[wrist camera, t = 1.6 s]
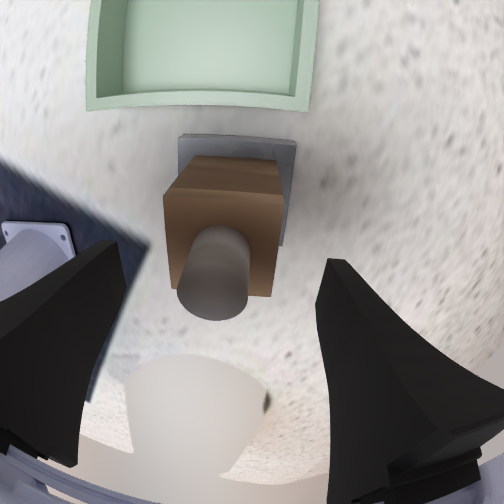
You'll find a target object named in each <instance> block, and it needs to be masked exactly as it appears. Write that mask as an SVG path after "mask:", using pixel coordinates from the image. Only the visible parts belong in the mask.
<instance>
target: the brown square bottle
mask: <svg viewBox="0 0 504 504" xmlns="http://www.w3.org/2000/svg"><path fill="white" fill-rule="evenodd" d="M163 205H164V219H165V231H166V242H167V253H168V262H169V271H170V280H171V288H172V289H177V295H178V298H179V301H180V302H181V304H182V305H183V307H184V308H185V309H186V310H188V311H189V312H190V313H192V314H193V315H195V316H197V317H200V318H203V319H206V320H213V321H221V320H227V319H230V318H233V317H235V316H237V315H238V314H240V313H241V312H242V311H243V309H244V308H245V306H246V304H247V300H248V296H261V297H271V293H272V287H273V280H274V273H275V267H276V260H277V253H278V246H279V239H280V232H281V225H282V218H283V210H284V199H283V193H282V188H281V182H280V176H279V170H278V165H277V161H276V160H265V159H253V158H239V157H223V156H200V155H195V156H194V157H193V158H192V160H191V161H190V162H189V163H188V164H187V166H186V167H185V168H184V169H183V171H182V172H181V173H180V175H179V176H178V177H177V178H176V180H175V181H174V182H173V184H172V185H171V186H170V188H169V189H168V190H167V191H166V193H165V194H164V195H163Z"/></svg>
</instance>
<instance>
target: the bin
mask: <svg viewBox="0 0 504 504" xmlns="http://www.w3.org/2000/svg"><path fill="white" fill-rule="evenodd" d="M318 8H319V0H91V4H90V12H89V21H88V33H87V49H86V112H89V111H97V110H105V109H115V108H126V107H139V106H157V105H229V106H247V107H261V108H272V109H282V110H291V111H299V112H307V113H308V108H309V100H310V91H311V82H312V73H313V63H314V53H315V43H316V32H317V20H318Z"/></svg>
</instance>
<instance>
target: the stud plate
mask: <svg viewBox="0 0 504 504" xmlns="http://www.w3.org/2000/svg"><path fill="white" fill-rule="evenodd" d="M295 152H296V144H295V142H294V141H290V140H281V139H271V138H259V137H246V136H230V135H206V134H183V135H182V136H181V137H179V138H178V175H180V173H181V172H182V171H183V169H184V168H185V167H186V166H187V164H188V163H189V162H190V161H191V160H192V158H193V157H194V156H195V155H200V156H223V157H239V158H253V159H265V160H276V161H277V165H278V170H279V176H280V182H281V188H282V193H283V199H284V210H283V218H282V225H281V232H280V239H279V246H282V245H283V239H284V232H285V225H286V218H287V211H288V204H289V197H290V190H291V183H292V175H293V167H294V160H295Z"/></svg>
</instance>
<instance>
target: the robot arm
mask: <svg viewBox="0 0 504 504" xmlns="http://www.w3.org/2000/svg"><path fill="white" fill-rule="evenodd" d="M2 230H3V233H4V236H5V239H6V242H7V244H6V245H5V246H4V247H3V248H2V249H1V250H0V504H73V503H71V502H69V501H66V500H63V499H61V498H59V497H57V496H54V495H52V494H50V493H49V492H48V490H47V487H46V485H48V486H50V487H52V488H54V489H56V490H58V491H60V492H63V493H65V494H67V495H69V496H71V497H74V498H76V499H78V500H81V501H83V502H86V503H88V504H160V503H155V502H151V501H147V500H143V499H139V498H135V497H131V496H128V495H124V494H121V493H118V492H114V491H112V490H108V489H105V488H102V487H99V486H97V485H94V484H91V483H89V482H86V481H83V480H81V479H78V478H76V477H73V476H71V475H69V474H67V473H64V472H62V471H60V470H57V469H55V468H53V467H51V466H49V465H47V464H45V463H43V462H41V461H39V460H37V457H38V456H39V457H41V458H43V459H45V460H48V458H49V459H51V460H53V461H55V462H57V463H60V464H62V465H64V466H66V467H69V468H71V467H74V466H76V465H77V464H78V443H79V432H80V425H81V418H82V411H83V406H84V402H85V397H86V393H87V388H88V385H89V381H90V377H91V374H92V370H93V367H94V365H95V362H96V359H97V357H98V355H99V352H100V350H101V348H102V346H103V343H104V341H105V339H106V337H107V335H108V333H109V331H110V328H111V326H112V324H113V322H114V320H115V318H116V315H117V313H118V311H119V308H120V305H121V303H122V300H123V296H124V293H125V290H126V282H125V278H124V274H123V269H122V265H121V260H120V255H119V250H118V245H117V241H105V240H102V241H100V242H98V243H96V244H94V245H92V246H91V247H89V248H87V249H86V250H84V251H83V252H81V253H79V254H78V255H75V251H74V247H73V244H72V240H71V236H70V232H69V229H68V227H67V225H65V224H63V223H42V222H19V221H4V222H3V223H2ZM63 235H64V236H65V237H66V238H65V237H64V236H63ZM315 308H316V322H317V331H318V337H319V342H320V347H321V352H322V357H323V362H324V368H325V373H326V378H327V384H328V391H329V404H330V440H331V443H330V470H329V484H328V493H327V504H504V453H502V454H501V455H499V456H497V457H495V458H493V459H491V460H489V461H487V462H485V463H484V464H482V465H480V466H478V463H477V459H479V458H480V457H481V456H482V452H481V449H480V446H482V445H483V444H485V443H486V442H487V441H489V440H490V439H492V438H493V437H494V436H496V435H497V434H498V433H500V432H501V431H502V430H503V429H504V389H502V388H500V387H498V386H496V385H494V384H492V383H490V382H488V381H486V380H484V379H482V378H480V377H478V376H477V375H475V374H473V373H472V372H470V371H468V370H467V369H465V368H464V367H462V366H460V365H459V364H457V363H456V362H454V361H453V360H451V359H450V358H449V357H447V356H446V355H444V354H443V353H442V352H440V351H439V350H438V349H436V348H435V347H434V346H432V345H431V344H430V343H429V342H427V341H426V340H425V339H424V338H423V337H421V336H420V335H419V334H418V333H417V332H416V331H414V330H413V329H412V328H411V327H410V326H409V325H408V324H406V323H405V322H404V321H403V320H402V319H401V318H400V317H399V316H398V315H397V314H396V313H395V312H394V311H393V310H392V309H391V308H390V307H389V306H388V305H387V304H386V303H385V302H384V301H383V300H382V299H381V298H380V297H379V296H378V294H377V293H376V292H375V291H374V290H373V289H372V288H371V287H370V286H369V285H368V284H367V283H366V281H365V280H364V279H363V278H362V277H361V276H360V275H359V274H358V273H357V272H356V271H355V269H354V268H353V267H352V266H351V265H350V264H349V263H348V262H347V261H346V260H343V259H331V258H328V259H327V263H326V266H325V270H324V274H323V278H322V281H321V285H320V289H319V292H318V296H317V299H316V303H315ZM45 484H46V485H45Z"/></svg>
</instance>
